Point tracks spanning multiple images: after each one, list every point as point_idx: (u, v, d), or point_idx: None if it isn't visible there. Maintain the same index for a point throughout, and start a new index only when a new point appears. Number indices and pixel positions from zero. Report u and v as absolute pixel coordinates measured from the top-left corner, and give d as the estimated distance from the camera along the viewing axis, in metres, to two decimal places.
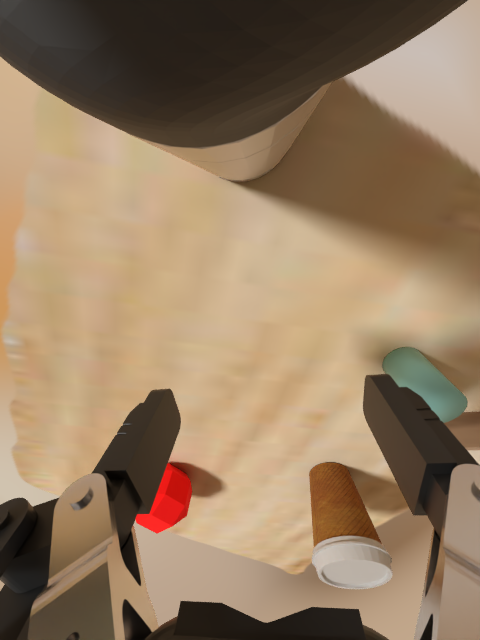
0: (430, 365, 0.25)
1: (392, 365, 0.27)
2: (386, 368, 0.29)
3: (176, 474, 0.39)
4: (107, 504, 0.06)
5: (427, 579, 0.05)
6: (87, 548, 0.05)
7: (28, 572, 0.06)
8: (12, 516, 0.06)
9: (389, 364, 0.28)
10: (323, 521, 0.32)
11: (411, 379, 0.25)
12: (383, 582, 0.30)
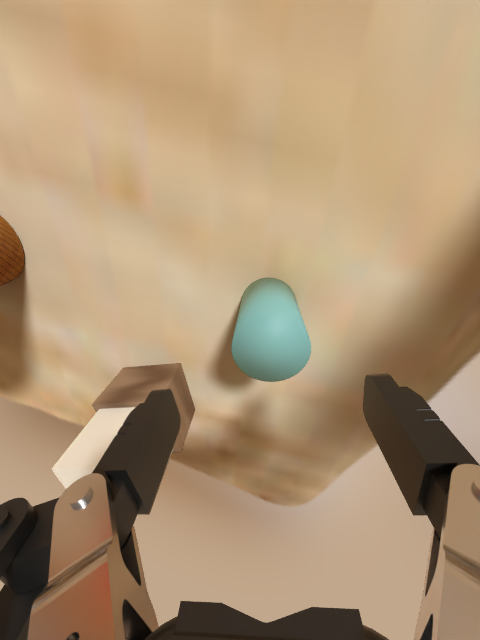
0: None
1: (279, 285, 0.17)
2: (264, 281, 0.18)
3: None
4: (107, 504, 0.06)
5: (427, 579, 0.05)
6: (87, 548, 0.05)
7: (28, 572, 0.06)
8: (12, 516, 0.06)
9: (276, 283, 0.18)
10: None
11: (292, 305, 0.15)
12: None
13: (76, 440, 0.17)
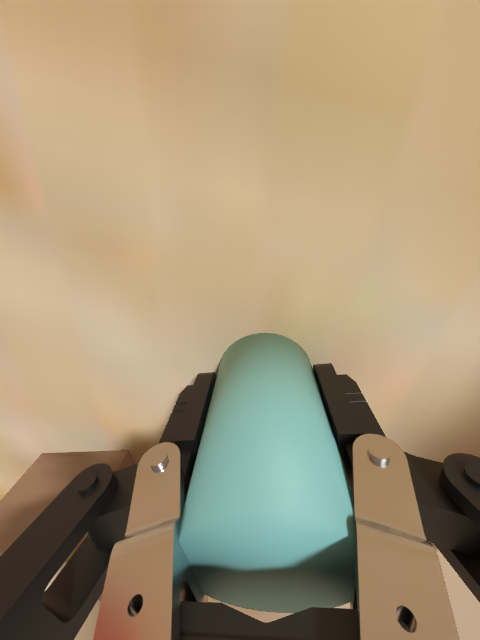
0: None
1: (285, 357, 0.09)
2: (258, 344, 0.10)
3: None
4: (179, 477, 0.06)
5: None
6: (158, 513, 0.06)
7: (105, 536, 0.06)
8: (99, 478, 0.07)
9: (280, 349, 0.10)
10: None
11: (317, 427, 0.07)
12: None
13: None
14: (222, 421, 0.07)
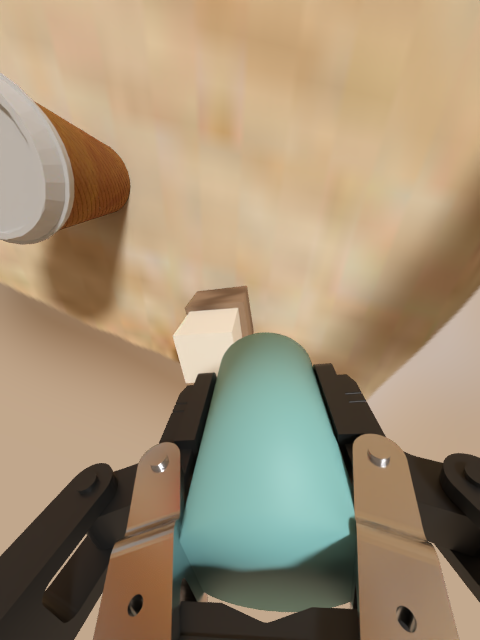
0: None
1: (286, 356, 0.09)
2: (259, 343, 0.10)
3: None
4: (179, 477, 0.06)
5: None
6: (158, 513, 0.06)
7: (105, 536, 0.06)
8: (99, 478, 0.07)
9: (281, 349, 0.10)
10: (50, 112, 0.16)
11: (318, 426, 0.07)
12: None
13: (182, 324, 0.22)
14: (223, 420, 0.07)
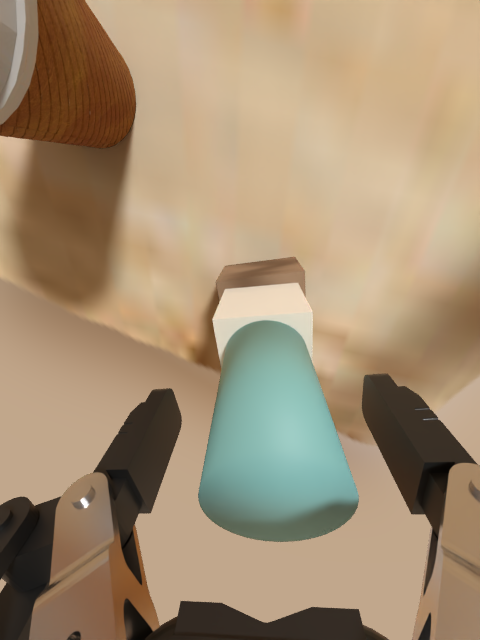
0: None
1: (284, 340, 0.11)
2: (260, 329, 0.11)
3: None
4: (109, 503, 0.06)
5: (425, 578, 0.05)
6: (89, 547, 0.05)
7: (30, 571, 0.06)
8: (14, 515, 0.06)
9: (280, 334, 0.11)
10: None
11: (312, 394, 0.08)
12: None
13: (221, 304, 0.14)
14: (233, 392, 0.08)
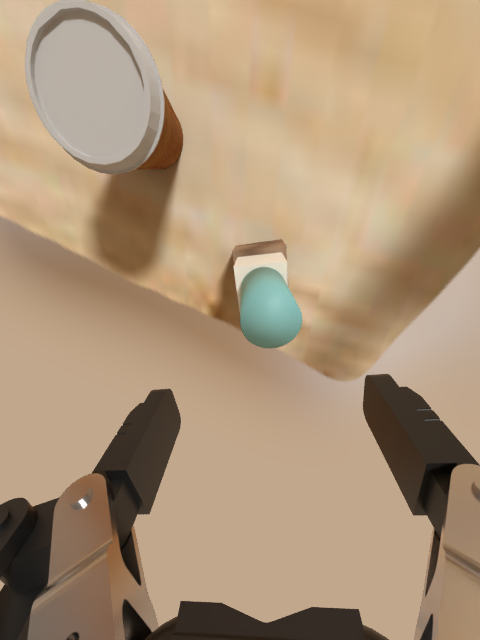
0: None
1: (271, 272, 0.21)
2: (259, 270, 0.22)
3: None
4: (107, 504, 0.06)
5: (427, 579, 0.05)
6: (87, 548, 0.05)
7: (28, 572, 0.06)
8: (12, 516, 0.06)
9: (269, 270, 0.21)
10: None
11: (283, 286, 0.19)
12: (84, 157, 0.18)
13: (237, 262, 0.25)
14: (249, 289, 0.19)
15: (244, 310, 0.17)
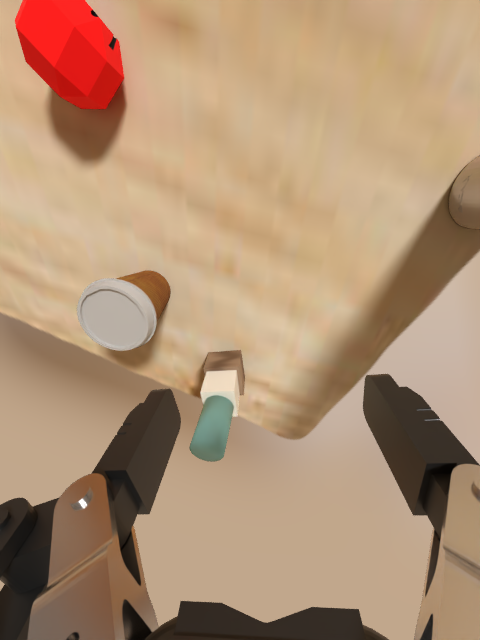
0: (229, 427, 0.33)
1: (216, 405, 0.33)
2: (211, 400, 0.34)
3: (118, 84, 0.27)
4: (107, 504, 0.06)
5: (427, 579, 0.05)
6: (87, 548, 0.05)
7: (28, 572, 0.06)
8: (12, 516, 0.06)
9: (216, 402, 0.34)
10: (144, 285, 0.31)
11: (216, 424, 0.31)
12: (108, 346, 0.31)
13: (204, 383, 0.37)
14: (198, 425, 0.32)
15: (190, 445, 0.30)
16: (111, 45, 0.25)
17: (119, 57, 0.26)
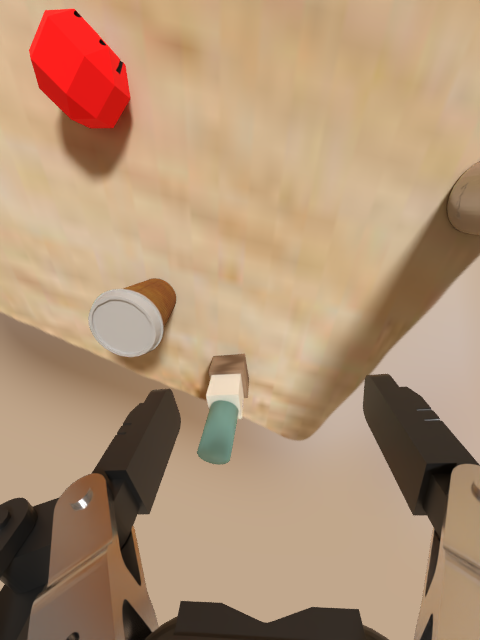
0: (233, 427, 0.34)
1: (215, 410, 0.35)
2: (211, 407, 0.36)
3: (125, 105, 0.29)
4: (107, 504, 0.06)
5: (427, 579, 0.05)
6: (87, 548, 0.05)
7: (28, 572, 0.06)
8: (12, 516, 0.06)
9: (215, 407, 0.35)
10: (151, 294, 0.33)
11: (214, 429, 0.32)
12: (118, 353, 0.32)
13: (209, 386, 0.39)
14: (202, 434, 0.34)
15: (198, 454, 0.32)
16: (118, 69, 0.26)
17: (125, 80, 0.28)
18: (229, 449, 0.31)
